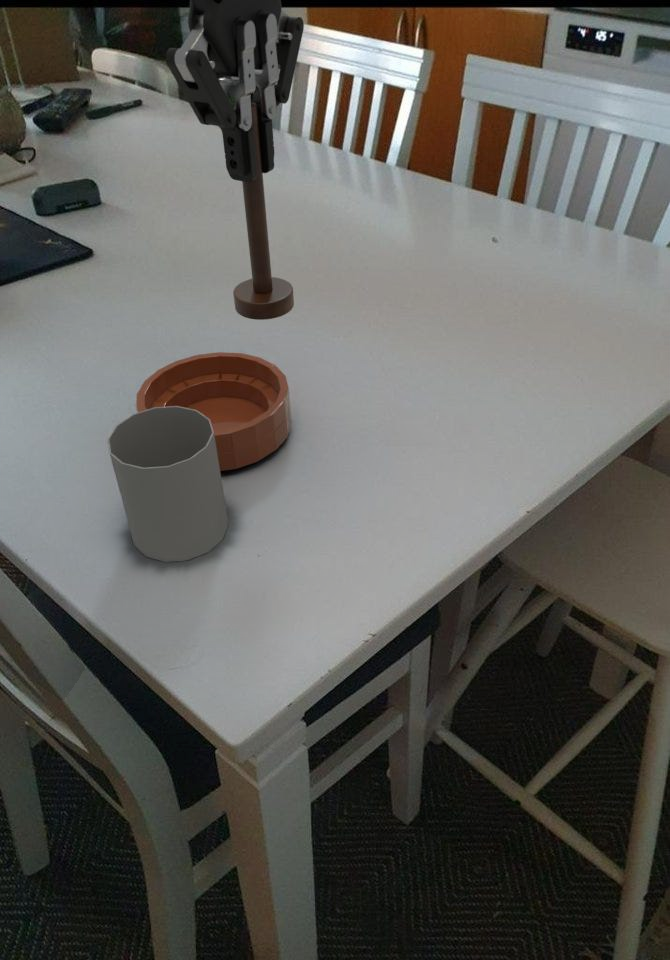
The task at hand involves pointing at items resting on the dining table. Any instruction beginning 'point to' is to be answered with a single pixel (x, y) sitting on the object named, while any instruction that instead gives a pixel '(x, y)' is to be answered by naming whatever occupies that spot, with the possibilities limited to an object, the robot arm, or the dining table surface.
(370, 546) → the dining table surface
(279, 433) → the bowl
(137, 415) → the cup
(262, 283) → the upright rod on disc
